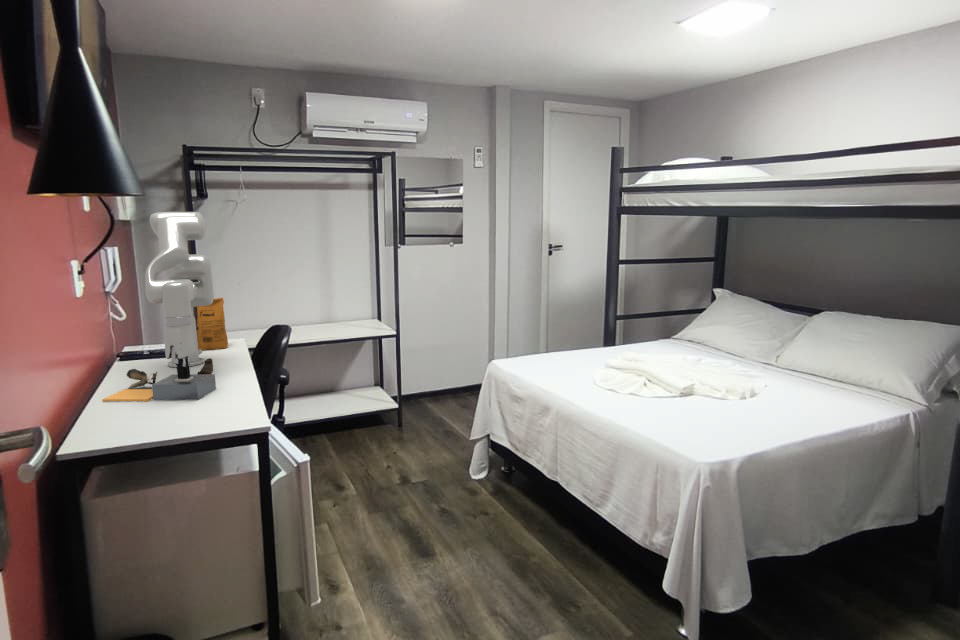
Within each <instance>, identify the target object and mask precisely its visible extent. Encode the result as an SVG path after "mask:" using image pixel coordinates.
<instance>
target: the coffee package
mask: <svg viewBox="0 0 960 640" xmlns="http://www.w3.org/2000/svg"><path fill="white" fill-rule="evenodd" d="M224 303H225V300H224V298H223V297H218V298H214V299H213V303H212V304H211V305H209V306H200V307H196V317H197V318H196V322H197V323H196V331H197V342H198V350H199V349H201V350H202V352H204V351H208V350H209V351H210V350H212V351H216V349H217V350H223V349H226V348H228V345H229V342H228V340H229V339H228V336H227V332H226V331H227V330H226V321H225V320H226V319H225V318H226V317H225V310H224Z"/></svg>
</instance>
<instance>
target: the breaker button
mask: <svg viewBox="0 0 960 640" xmlns="http://www.w3.org/2000/svg"><path fill="white" fill-rule="evenodd" d="M192 379H194V376H190V378H188V379H178V378H177V379H175V381H190V380H192Z"/></svg>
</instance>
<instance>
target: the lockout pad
mask: <svg viewBox="0 0 960 640" xmlns="http://www.w3.org/2000/svg"><path fill="white" fill-rule="evenodd" d="M151 399H152V400H153V390H152V388H133V389H127V388H126V389H121V390H119V391H118V392H115V393H113V394H111V395H109V396H106V397H104V398H102V401H142V402H141V403H143V401H144V403H147V402H149V400H150V401H152V400H151Z"/></svg>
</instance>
